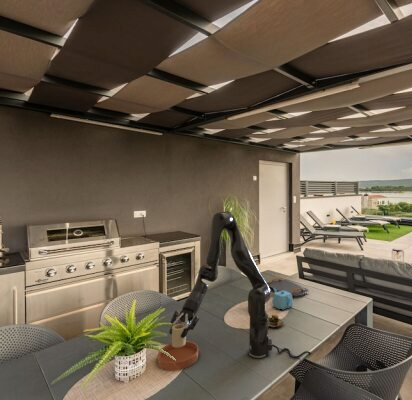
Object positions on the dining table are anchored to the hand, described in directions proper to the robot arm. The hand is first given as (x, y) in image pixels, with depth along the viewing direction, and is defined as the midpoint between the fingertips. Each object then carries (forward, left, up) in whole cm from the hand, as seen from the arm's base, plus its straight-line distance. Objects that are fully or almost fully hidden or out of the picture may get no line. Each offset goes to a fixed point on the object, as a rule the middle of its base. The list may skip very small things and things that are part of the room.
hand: (176, 335), depth 129 cm
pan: (-1, -1, -12) cm, 12 cm away
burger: (-49, -33, -12) cm, 60 cm away
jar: (-1, -1, -5) cm, 5 cm away
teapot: (-57, -60, -12) cm, 84 cm away
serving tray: (-65, -94, -12) cm, 115 cm away
